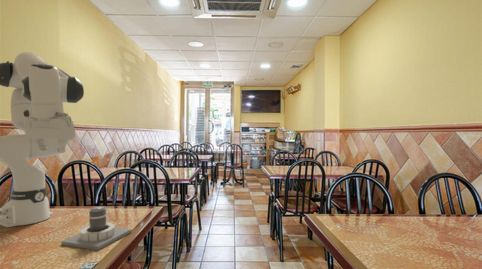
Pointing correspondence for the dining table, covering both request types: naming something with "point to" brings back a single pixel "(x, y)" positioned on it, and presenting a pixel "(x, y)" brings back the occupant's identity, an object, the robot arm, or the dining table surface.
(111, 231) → the mount
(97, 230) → the lens
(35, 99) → the robot arm
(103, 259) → the dining table surface
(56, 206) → the dining table surface
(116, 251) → the dining table surface
